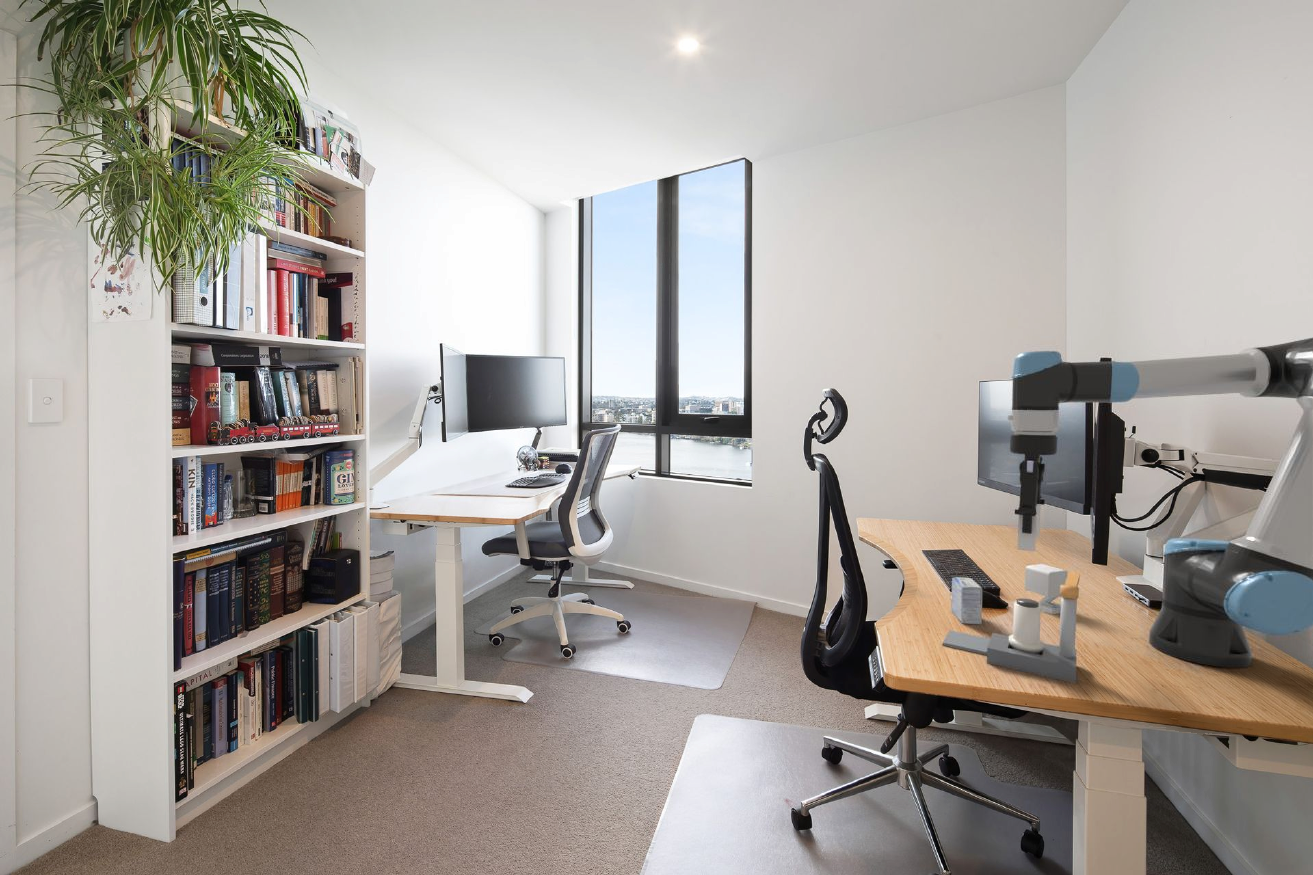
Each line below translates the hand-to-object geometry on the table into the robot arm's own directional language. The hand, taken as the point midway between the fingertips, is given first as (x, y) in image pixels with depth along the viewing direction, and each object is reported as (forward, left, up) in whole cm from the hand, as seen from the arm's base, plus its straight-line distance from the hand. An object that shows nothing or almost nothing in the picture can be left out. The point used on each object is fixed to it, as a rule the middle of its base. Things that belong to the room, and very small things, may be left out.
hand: (1028, 543), depth 111 cm
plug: (0, 0, -23) cm, 23 cm away
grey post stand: (-1, 0, -23) cm, 23 cm away
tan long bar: (-7, -6, -11) cm, 14 cm away
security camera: (-2, -38, -24) cm, 45 cm away
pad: (+10, -3, -23) cm, 26 cm away
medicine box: (+13, -19, -24) cm, 33 cm away
